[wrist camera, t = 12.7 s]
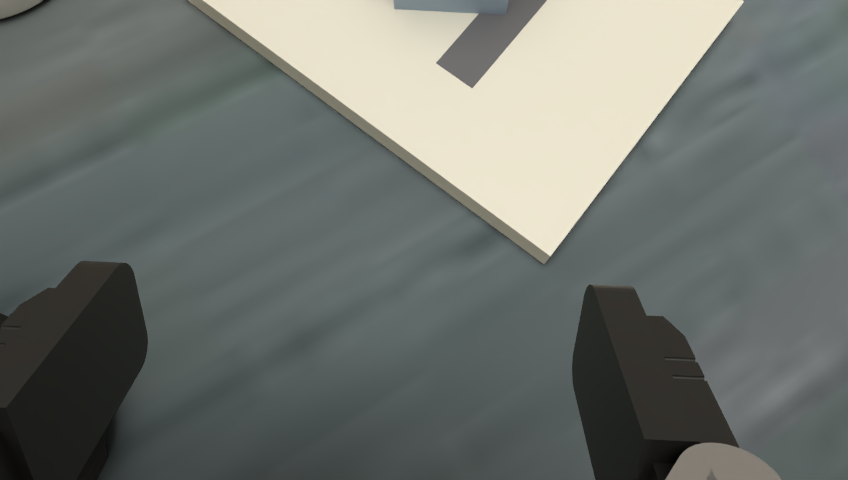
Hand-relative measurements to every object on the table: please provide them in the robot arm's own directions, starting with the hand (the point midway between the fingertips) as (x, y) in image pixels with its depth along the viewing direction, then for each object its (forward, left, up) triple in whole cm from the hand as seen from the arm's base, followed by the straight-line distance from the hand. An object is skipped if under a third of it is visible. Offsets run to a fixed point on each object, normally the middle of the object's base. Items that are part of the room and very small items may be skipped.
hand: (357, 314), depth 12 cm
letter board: (-8, +15, -16) cm, 23 cm away
